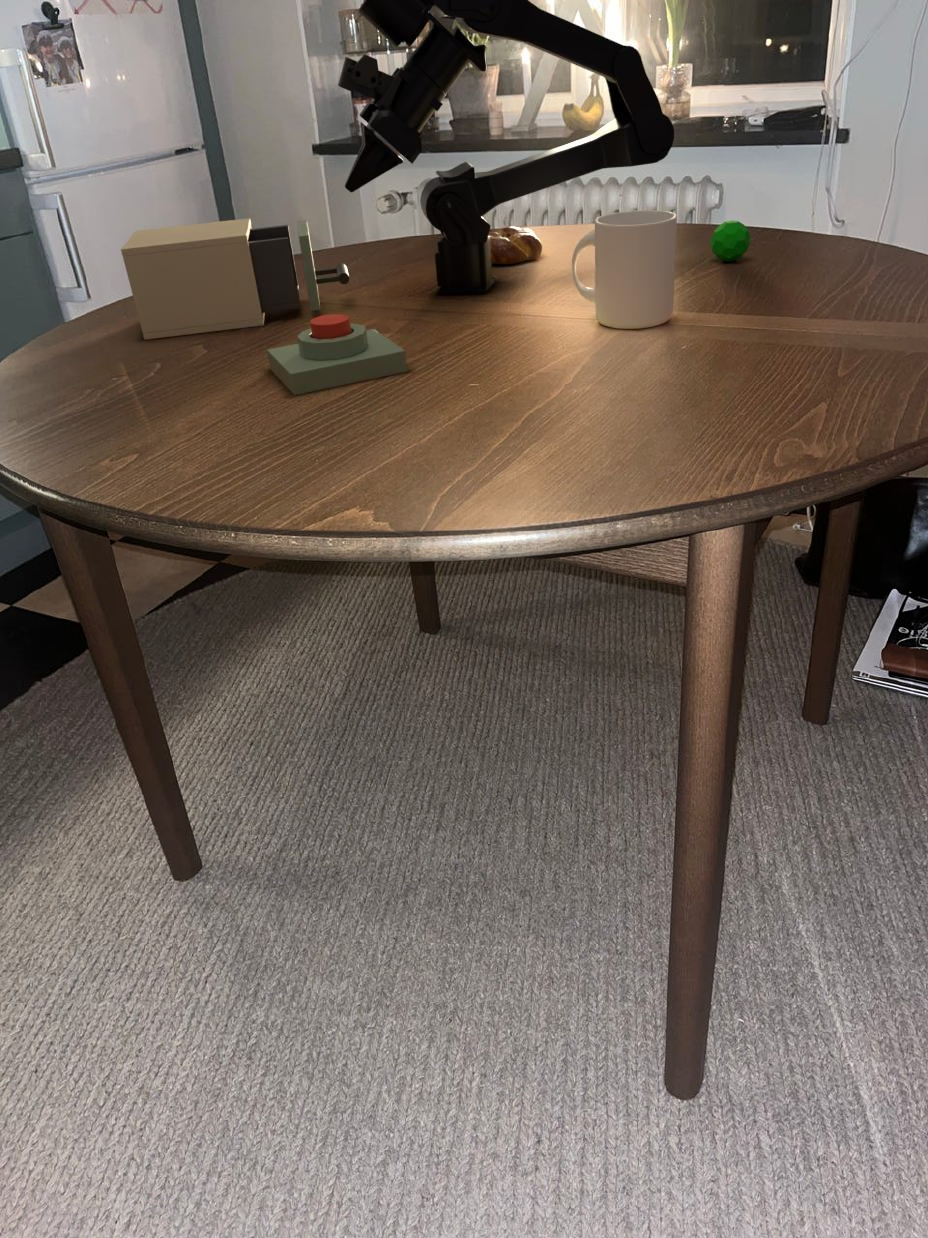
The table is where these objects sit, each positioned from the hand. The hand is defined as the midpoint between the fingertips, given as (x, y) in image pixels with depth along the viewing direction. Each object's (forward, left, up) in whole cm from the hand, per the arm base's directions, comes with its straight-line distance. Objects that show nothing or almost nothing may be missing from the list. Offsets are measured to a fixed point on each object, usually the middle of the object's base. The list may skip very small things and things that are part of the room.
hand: (347, 189), depth 116 cm
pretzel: (-14, -24, -14) cm, 31 cm away
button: (-8, +28, -10) cm, 31 cm away
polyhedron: (-46, -19, -14) cm, 51 cm away
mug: (-35, +9, -14) cm, 38 cm away
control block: (-8, +28, -13) cm, 32 cm away
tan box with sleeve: (+18, +8, -13) cm, 24 cm away
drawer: (+9, +4, -13) cm, 16 cm away
